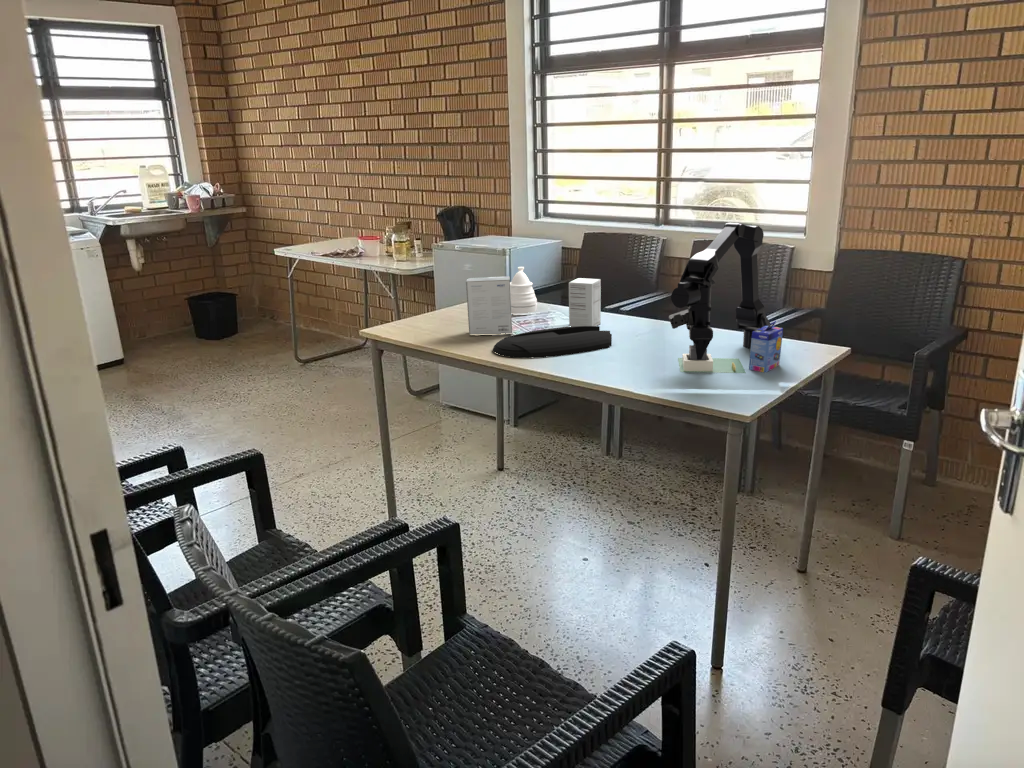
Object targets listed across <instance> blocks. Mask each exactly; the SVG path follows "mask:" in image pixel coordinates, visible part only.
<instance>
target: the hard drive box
mask: <svg viewBox="0 0 1024 768" xmlns="http://www.w3.org/2000/svg"><path fill="white" fill-rule="evenodd" d="M510 278H511V277H510V276H508V275H507V276H488V277H487V276H486V277H484V276H483V277H469V278H467V279H466V280H465V287H466V288H465V289H466V303H467V307H466V308H467V317H468V318H467V319H468V321H467V322H468V333H469V334H501V333H505V334H506V333H512V334H513V321H512V319H513V318H512V315H511V293H510V282H511V279H510ZM469 334H468V335H469Z"/></svg>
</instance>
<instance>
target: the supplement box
mask: <svg viewBox="0 0 1024 768" xmlns="http://www.w3.org/2000/svg"><path fill="white" fill-rule="evenodd" d="M601 281H602V280H601V278H587V277H586V278H585V277H583V278H582V277H578V278H576V279H574V280H571V281H569V282H568V322H569V323H568V327H569V326H571V327H574V326H600V324H601V317H602V316H601V315H602V314H601V313H602V312H601V309H602V307H601V306H602V305H601V302H602V299H601V296H602V295H601V292H602V291H601V289H602V288H601V287H602V286H601V285H602V284H601Z"/></svg>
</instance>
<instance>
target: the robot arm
mask: <svg viewBox="0 0 1024 768" xmlns="http://www.w3.org/2000/svg"><path fill="white" fill-rule="evenodd" d="M763 240H764V231H763V228H762V227H761V226H760V225H747V224H746V225H745V224H742V223H741V222H740V223H739V222H727V223H725V224H724V225H723V228H722V230H721V231H720V232H719V233H718V235H717V236H716V237H715V238H714V239H713V240H712V242H711V243H710V244H709V245H708V246H707V247H706V248H705V249H704V250H701V251H700V252H697V253H695V254H694V255H693V256H692V257H691V258H690V259H689V260H688V262H687V263H686V265H685V267H684V271H683V273H682V275H681V278H680V280H679V282H678V283H677V287H675V288H674V289H673V291H672V292H671V294H670V301H671V302H672V304H673V305H674V306H675V307H676V308H678V309H683V308H687V309H684V310H681V311H678V312H675V313H673V314H669V315H668V319H669V322H670V325H671V329H678V328H680V327H681V326H686V329H687V330H688V335H689V336H688V338H689V339H690V341H692V343H693V345H695V349H696V356H697V360H701V359H702V357H703V355H704V353H705V351H706V349H707V348H708V347H709V345H710V344H711V341H712V339H714V330H713V328H712V327H711V320H710V317H711V311H712V306H711V299H712V298H711V297H712V286H713V285H716V282H715V280H713V278H714V276H715V274H716V273H717V272H718V270H719V267H720V266H719V263H720V260H721V259H722V258H723V257H724V256H725V254H726V253H727V252H728V251H729V250H730V248H731V247H732V246H733V247H734V248H733V249H735V251H736V252H737V253H738V255H739V261H740V262H739V264H740V265H739V266H740V282H741V283H740V284H741V285H740V286H741V302H740V303H739V305H738V306H737V307H736V309H735V315H736V317H735V320H736V327H737V330H740V331H741V330H742V331H743V336H742V337H743V340H742V347H743V348H747V349H749V350H750V349H751V338H752V332H753V331H755V330H757V329H760V328H762V327H764V326H769V325H770V323H771V322H770V320H769V318H768V316H767V315H766V310H765V306H764V304H763V302H762V301H761V299H760V298H759V274H758V273H759V271H758V270H759V268H758V267H759V266H758V253H759V251H760V249H761V248H762V246H763V243H764V242H763ZM770 326H771V325H770ZM707 350H708V349H707Z"/></svg>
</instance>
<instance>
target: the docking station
mask: <svg viewBox="0 0 1024 768" xmlns="http://www.w3.org/2000/svg"><path fill="white" fill-rule="evenodd" d="M612 334H613V333H611V330H600V325H597V326H574V327H569V326H563V327H552V328H544V329H539V330H538V329H537V330H531V331H527V332H526V331H525V332H521V333H518V334H512V335H508V336H506V337H504V338H502V339H501V340H499V341H497V342H496V343H495V344H494V345H493V348H492V352H493V351H494V352H496V353H498V354H500V355H504V356H510V357H509V358H513V357H543V358H547V357H546V356H553V357H561V355H562V356H568V355H577V354H584V353H588V352H594V351H601V350H604V349H608V348H610V347H611V346H612V340H613V339H612V338H613V337H612ZM600 349H601V350H600ZM494 352H493V353H494ZM500 355H499V356H500ZM504 356H503V357H504Z"/></svg>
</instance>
